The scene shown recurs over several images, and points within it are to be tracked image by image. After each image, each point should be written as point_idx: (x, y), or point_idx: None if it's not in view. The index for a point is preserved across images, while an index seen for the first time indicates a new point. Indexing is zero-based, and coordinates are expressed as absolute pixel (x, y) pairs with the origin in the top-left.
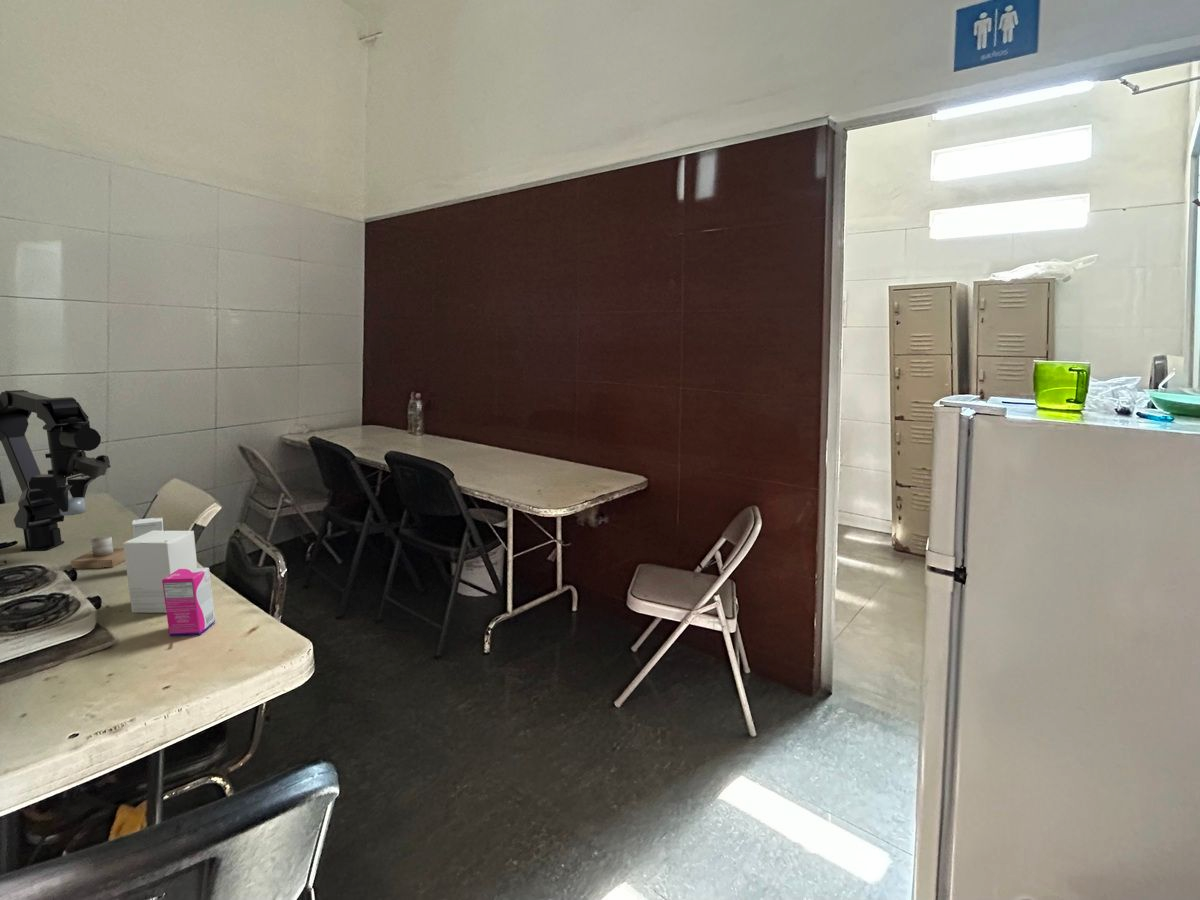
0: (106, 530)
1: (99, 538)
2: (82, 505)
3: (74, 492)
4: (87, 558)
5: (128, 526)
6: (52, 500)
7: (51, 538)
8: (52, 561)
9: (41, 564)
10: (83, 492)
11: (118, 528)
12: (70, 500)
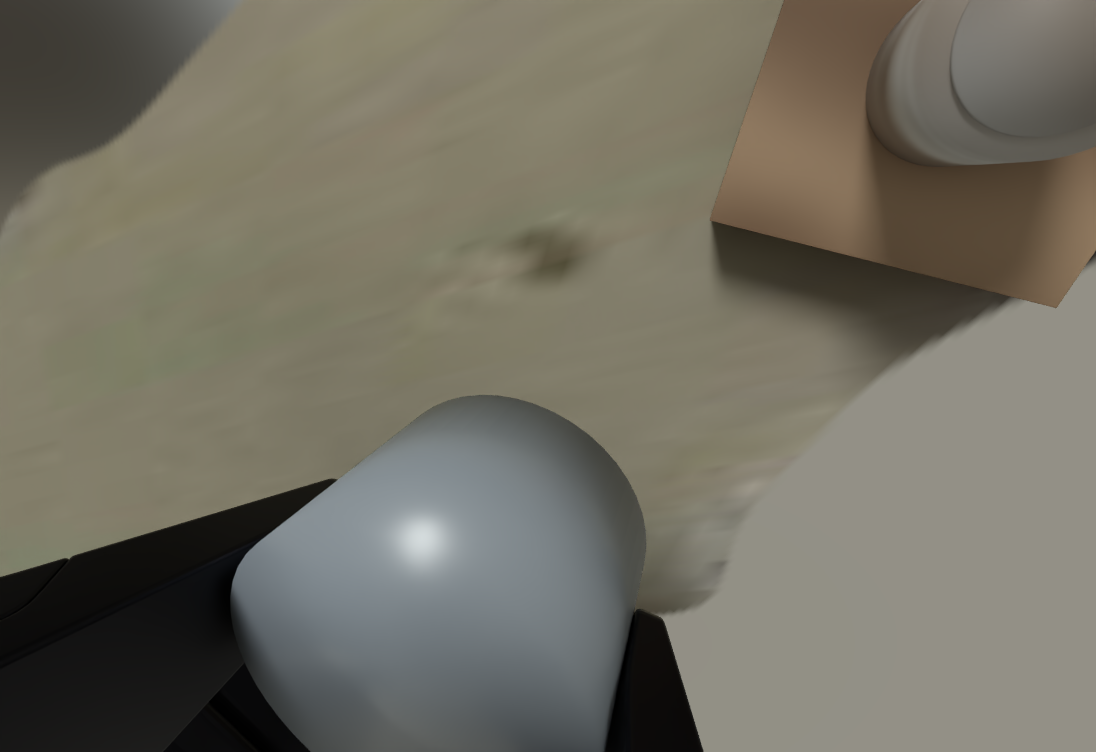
0: (179, 327)
1: (1075, 54)
2: (493, 471)
3: (129, 735)
4: (1055, 184)
5: (114, 237)
6: (183, 733)
7: None
8: (709, 450)
9: (752, 491)
10: (97, 608)
11: (147, 278)
12: (479, 716)
